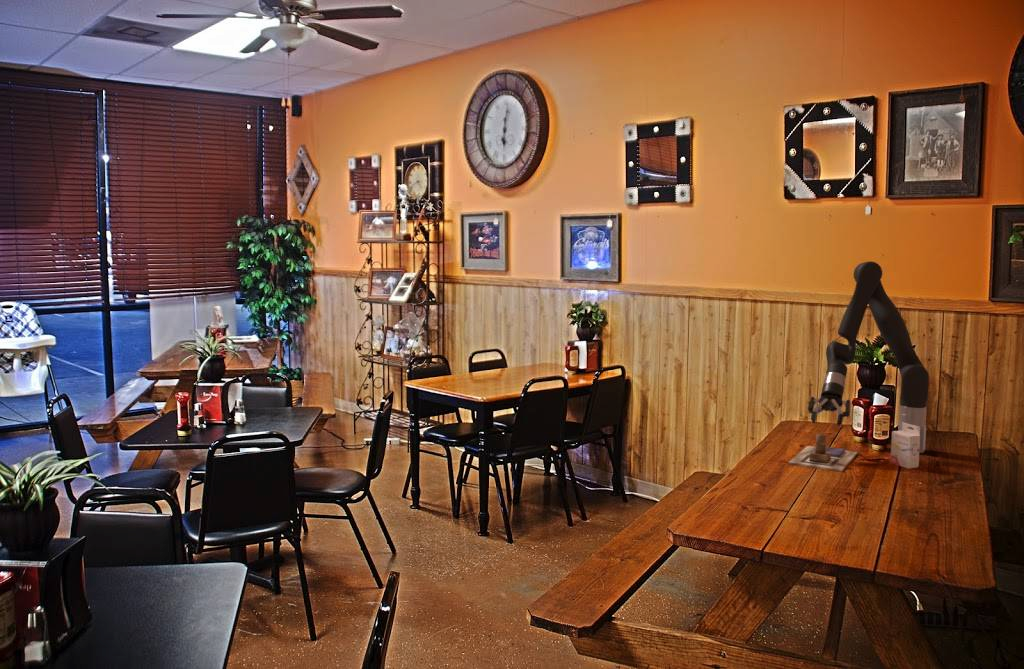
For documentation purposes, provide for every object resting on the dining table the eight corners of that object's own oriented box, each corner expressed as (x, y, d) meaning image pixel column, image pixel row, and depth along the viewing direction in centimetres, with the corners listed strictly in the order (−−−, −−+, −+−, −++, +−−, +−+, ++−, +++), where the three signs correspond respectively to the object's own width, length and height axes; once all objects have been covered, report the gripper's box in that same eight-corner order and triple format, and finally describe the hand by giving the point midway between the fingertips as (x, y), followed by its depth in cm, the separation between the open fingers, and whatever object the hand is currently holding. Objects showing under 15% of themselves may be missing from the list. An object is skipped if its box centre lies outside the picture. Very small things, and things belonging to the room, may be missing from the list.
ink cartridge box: (889, 462, 301) (891, 422, 299) (899, 461, 303) (902, 421, 301) (908, 469, 293) (910, 427, 291) (919, 467, 295) (921, 426, 293)
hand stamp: (830, 459, 302) (831, 434, 301) (826, 463, 297) (827, 437, 296) (813, 457, 305) (814, 432, 304) (809, 461, 300) (810, 435, 299)
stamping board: (857, 454, 313) (857, 449, 313) (841, 471, 289) (841, 466, 289) (807, 447, 323) (807, 443, 322) (788, 464, 299) (788, 459, 299)
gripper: (812, 379, 313) (804, 415, 305) (852, 382, 305) (845, 419, 297) (815, 391, 318) (807, 427, 310) (855, 394, 310) (848, 431, 302)
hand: (826, 423), depth 303 cm, fingers open, 8 cm apart
